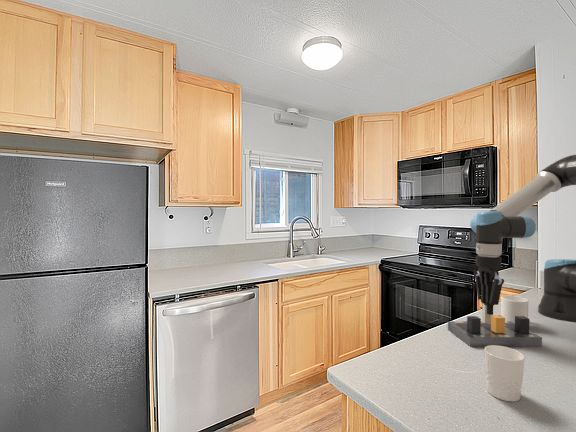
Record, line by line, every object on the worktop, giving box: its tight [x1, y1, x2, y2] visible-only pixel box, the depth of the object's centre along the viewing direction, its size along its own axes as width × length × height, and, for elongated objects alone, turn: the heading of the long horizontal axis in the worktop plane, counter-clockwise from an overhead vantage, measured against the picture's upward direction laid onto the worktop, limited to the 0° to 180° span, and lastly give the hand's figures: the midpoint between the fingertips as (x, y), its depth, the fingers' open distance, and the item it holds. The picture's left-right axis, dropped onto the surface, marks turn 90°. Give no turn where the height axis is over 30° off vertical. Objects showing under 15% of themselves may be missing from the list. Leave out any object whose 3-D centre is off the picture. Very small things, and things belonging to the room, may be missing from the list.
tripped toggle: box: [491, 314, 505, 333], centre depth 104 cm, size 3×2×5 cm
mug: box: [500, 294, 529, 323], centre depth 119 cm, size 12×8×10 cm
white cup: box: [484, 345, 526, 403], centre depth 75 cm, size 8×8×10 cm
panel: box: [447, 315, 543, 348], centre depth 107 cm, size 23×14×8 cm, turn 90°
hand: (487, 322), depth 110 cm, fingers closed
